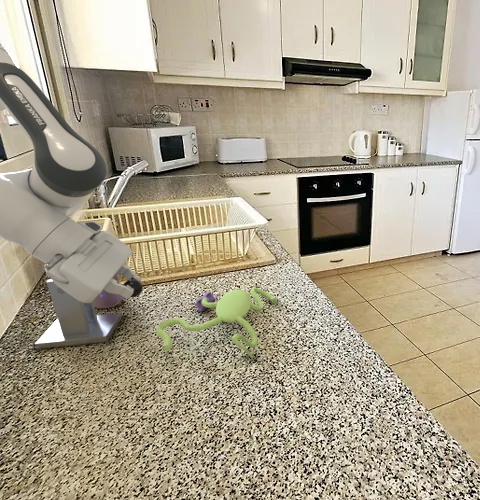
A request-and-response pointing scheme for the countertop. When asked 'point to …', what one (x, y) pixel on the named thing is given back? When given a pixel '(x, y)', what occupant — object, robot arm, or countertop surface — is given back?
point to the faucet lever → (134, 286)
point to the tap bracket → (76, 322)
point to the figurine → (223, 315)
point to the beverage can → (108, 298)
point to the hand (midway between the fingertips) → (135, 288)
